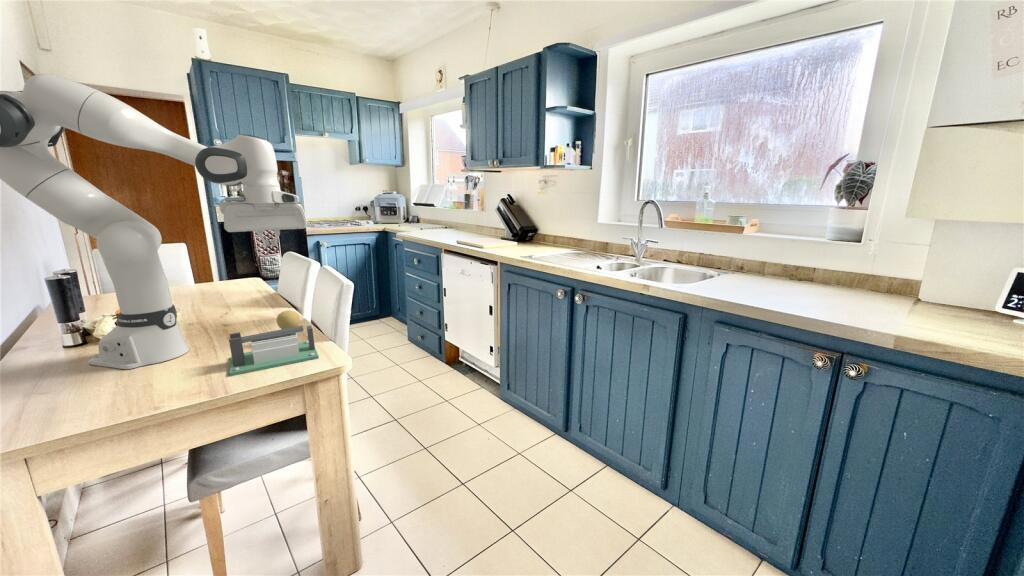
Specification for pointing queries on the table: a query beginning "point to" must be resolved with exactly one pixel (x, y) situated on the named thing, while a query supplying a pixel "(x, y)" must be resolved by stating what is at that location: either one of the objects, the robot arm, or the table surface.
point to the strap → (271, 334)
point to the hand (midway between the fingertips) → (270, 246)
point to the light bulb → (288, 319)
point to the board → (273, 363)
